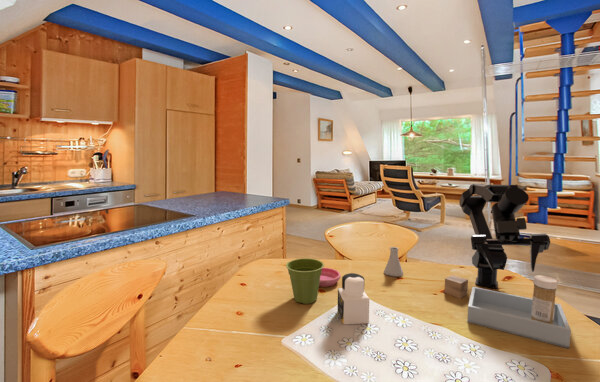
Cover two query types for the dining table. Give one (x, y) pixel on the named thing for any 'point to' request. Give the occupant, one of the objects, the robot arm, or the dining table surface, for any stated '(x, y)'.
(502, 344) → the dining table surface
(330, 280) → the saucer
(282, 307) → the dining table surface
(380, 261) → the dining table surface
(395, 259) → the flask
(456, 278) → the walnut cube
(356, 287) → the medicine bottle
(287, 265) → the plant pot
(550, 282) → the sprinkles bottle
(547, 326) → the tray
